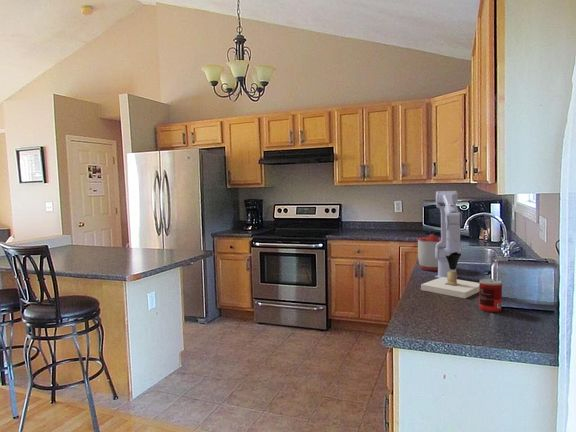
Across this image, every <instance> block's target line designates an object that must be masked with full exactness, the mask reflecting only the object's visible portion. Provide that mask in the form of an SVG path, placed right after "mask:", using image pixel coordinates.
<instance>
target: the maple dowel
mask: <svg viewBox="0 0 576 432" xmlns="http://www.w3.org/2000/svg"><path fill="white" fill-rule="evenodd" d="M457 276H458V272H457V271H456V272H455V271H448V272H447V285H451V286H457V279H458V277H457Z"/></svg>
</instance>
